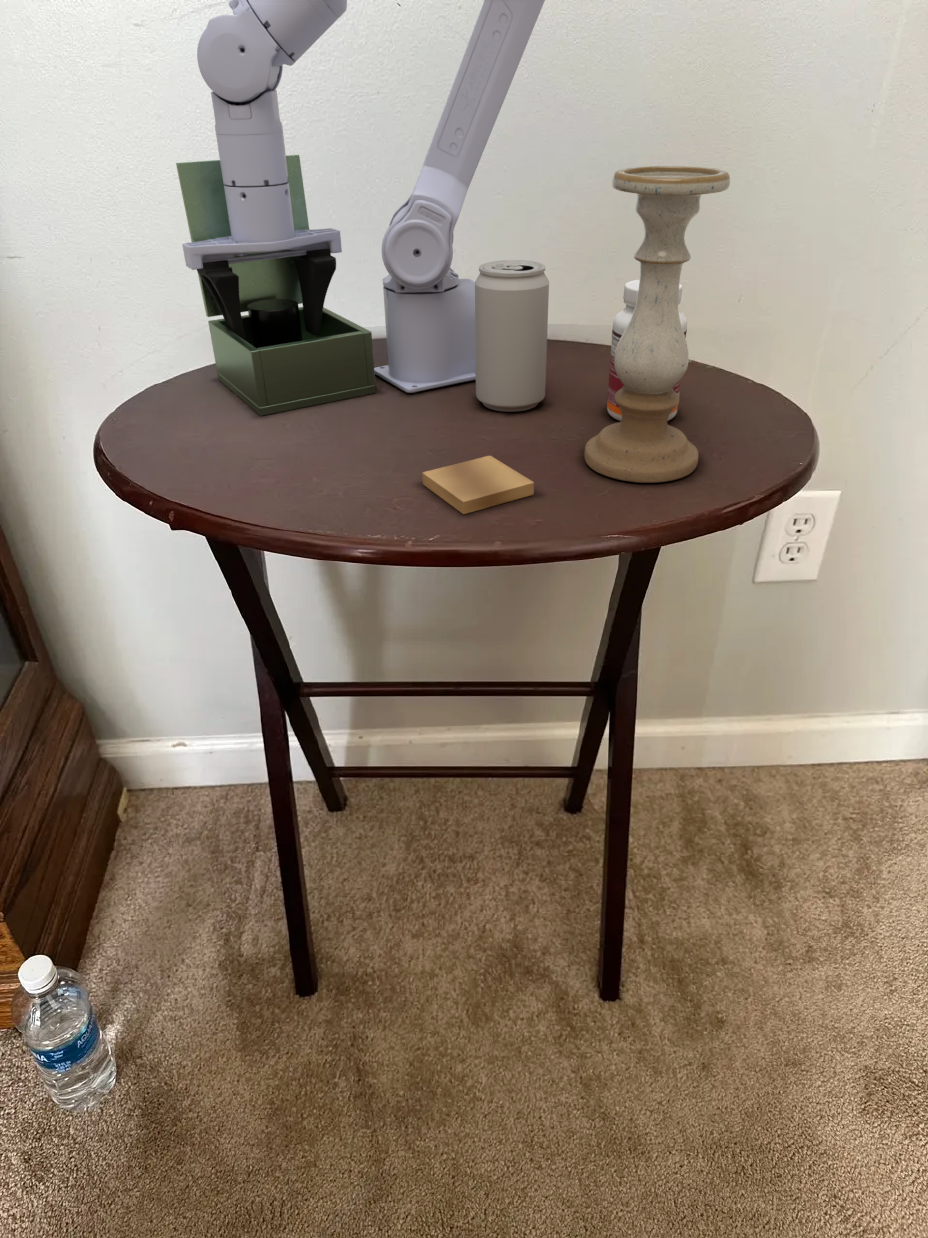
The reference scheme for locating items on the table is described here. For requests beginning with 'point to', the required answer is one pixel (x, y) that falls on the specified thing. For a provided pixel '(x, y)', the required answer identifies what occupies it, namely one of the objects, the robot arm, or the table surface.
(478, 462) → the plate
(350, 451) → the table surface
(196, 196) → the green box lid
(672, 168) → the candle holder
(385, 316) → the robot arm
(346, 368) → the green hinged box
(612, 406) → the pill bottle
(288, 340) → the cylinder
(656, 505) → the table surface
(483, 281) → the beverage can
